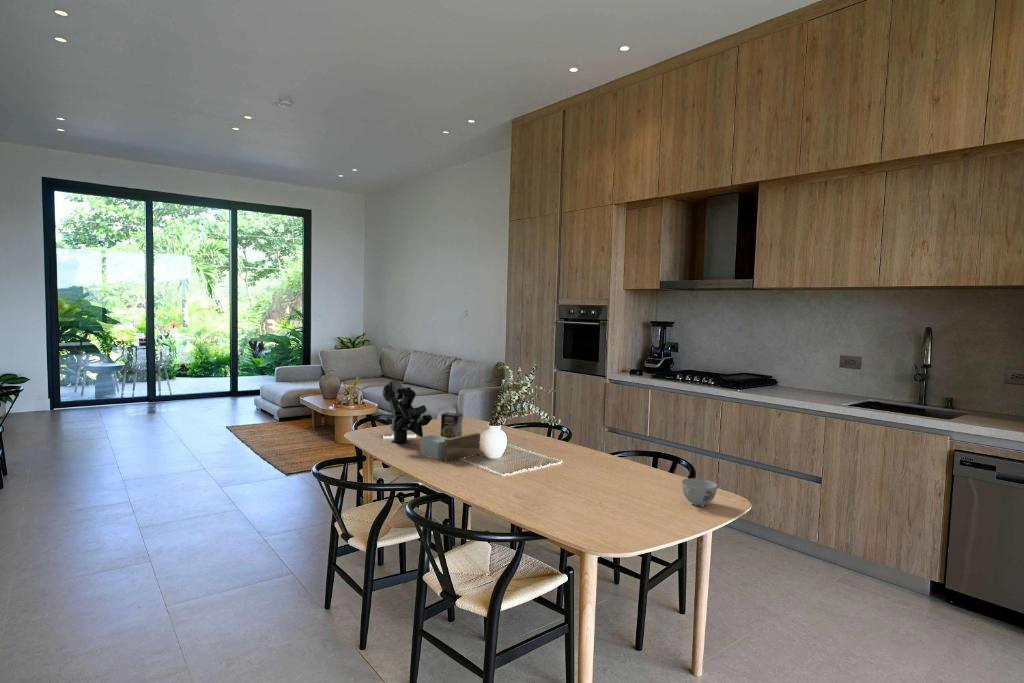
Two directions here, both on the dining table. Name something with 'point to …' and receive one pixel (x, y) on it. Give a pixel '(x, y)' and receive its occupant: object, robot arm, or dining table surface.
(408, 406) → the robot arm
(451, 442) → the walnut board
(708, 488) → the teacup
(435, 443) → the grey block
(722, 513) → the dining table surface
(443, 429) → the coffee box
